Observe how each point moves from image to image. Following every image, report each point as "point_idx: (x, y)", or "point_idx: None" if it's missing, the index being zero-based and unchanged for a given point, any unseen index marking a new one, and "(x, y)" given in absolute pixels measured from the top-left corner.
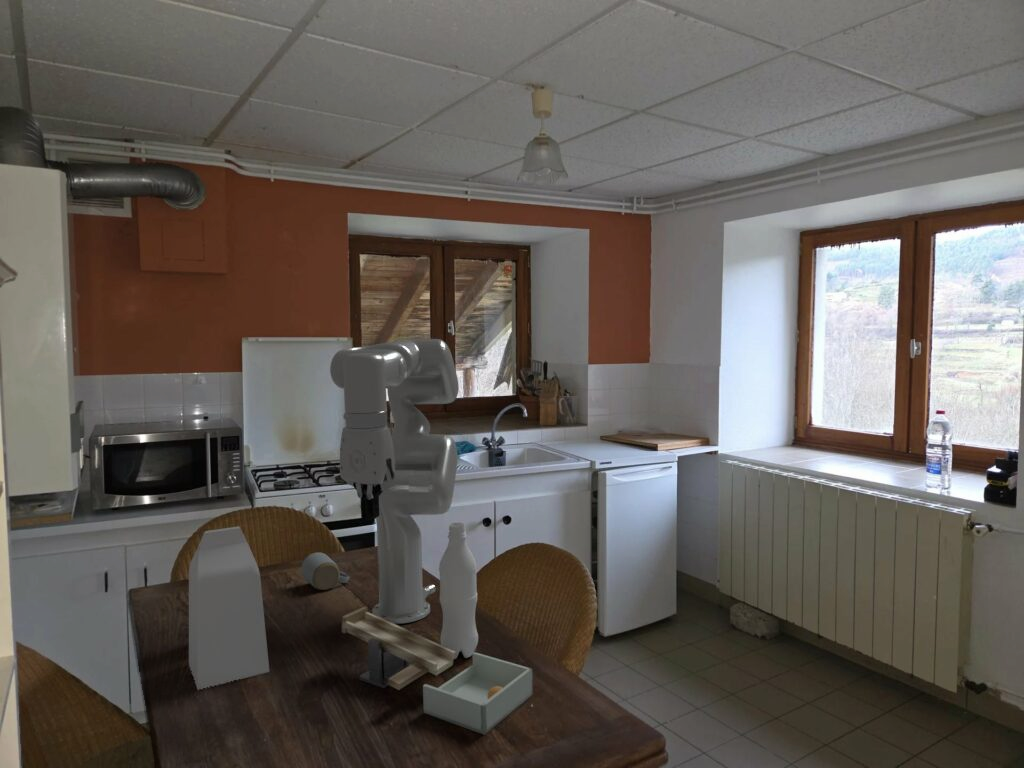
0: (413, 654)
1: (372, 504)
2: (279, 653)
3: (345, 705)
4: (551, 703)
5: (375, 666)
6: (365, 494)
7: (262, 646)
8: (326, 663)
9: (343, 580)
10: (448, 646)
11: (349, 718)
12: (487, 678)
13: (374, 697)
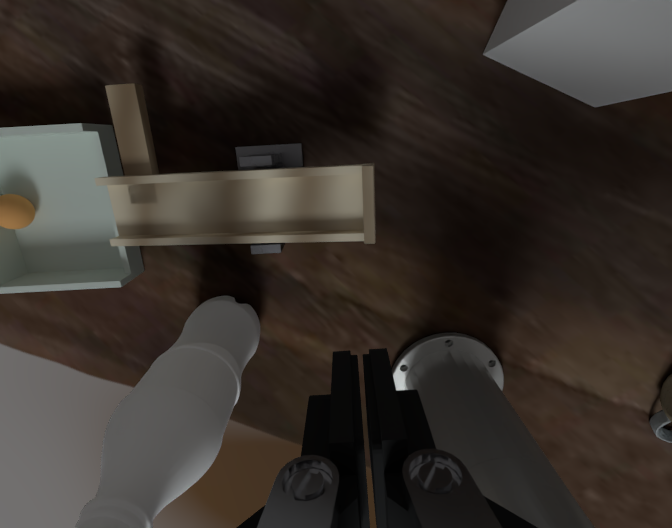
0: (149, 175)
1: (308, 441)
2: (528, 123)
3: (243, 55)
4: None
5: (260, 154)
6: (391, 502)
7: (515, 26)
8: (407, 151)
9: (656, 419)
10: (216, 299)
11: (197, 25)
12: (108, 269)
13: (224, 111)
